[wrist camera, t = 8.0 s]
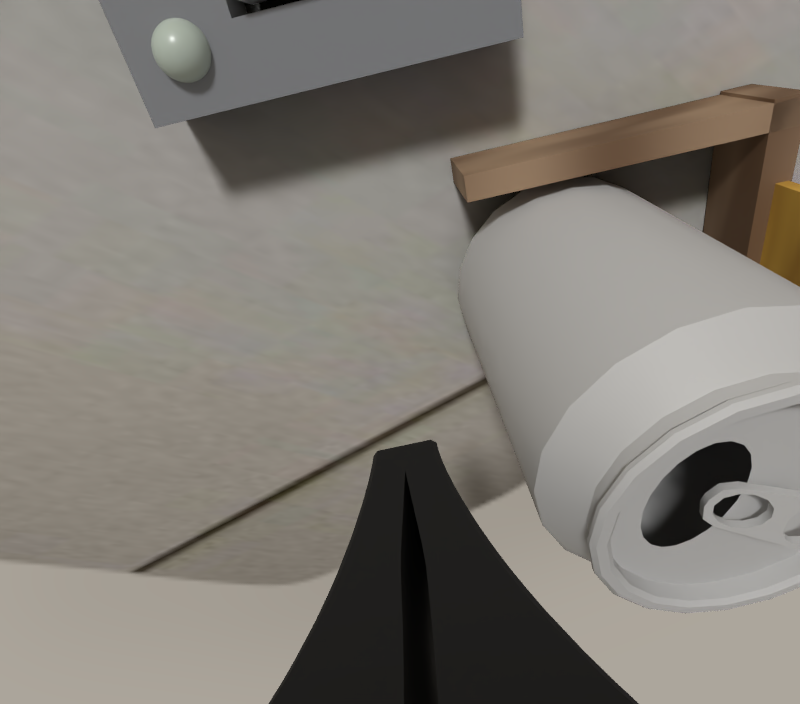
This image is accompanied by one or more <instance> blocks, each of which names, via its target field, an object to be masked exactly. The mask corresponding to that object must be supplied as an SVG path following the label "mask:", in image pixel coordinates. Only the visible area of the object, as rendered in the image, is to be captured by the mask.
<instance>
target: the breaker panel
mask: <svg viewBox="0 0 800 704" xmlns="http://www.w3.org/2000/svg"><path fill="white" fill-rule="evenodd" d="M99 2H100V4H101V6H102V9H103V11H104V13H105V15H106V18H107V20H108V22H109V25H110V27H111V29H112V31H113V34H114V36H115V38H116V40H117V43H118V45H119V47H120V49H121V52H122V54H123V56H124V59H125V61H126V63H127V65H128V68H129V70H130V72H131V74H132V77H133V79H134V81H135V83H136V86H137V88H138V90H139V93H140V95H141V97H142V99H143V102H144V104H145V106H146V108H147V111H148V113H149V115H150V117H151V120H152V122H153V124H154V127H155V128H158V127H162V126H166V125H170V124H174V123H178V122H182V121H186V120H190V119H194V118H198V117H202V116H206V115H210V114H214V113H219V112H223V111H227V110H231V109H235V108H239V107H243V106H247V105H251V104H255V103H259V102H263V101H267V100H271V99H275V98H279V97H283V96H288V95H292V94H296V93H300V92H304V91H308V90H312V89H316V88H320V87H324V86H328V85H332V84H336V83H340V82H344V81H348V80H352V79H356V78H361V77H365V76H369V75H373V74H377V73H381V72H385V71H389V70H393V69H397V68H401V67H405V66H409V65H413V64H417V63H421V62H425V61H430V60H434V59H438V58H442V57H446V56H450V55H454V54H458V53H462V52H466V51H470V50H474V49H478V48H482V47H486V46H490V45H494V44H499V43H503V42H507V41H511V40H515V39H519V38H523V23H522V7H521V0H301V1H297V2H293V3H289V4H285V5H282V6H278V7H274V8H270V9H266V10H262V11H258V12H254V13H250V14H248V13H247V10H246V7H245V4H244V2H242V1H238V0H99Z"/></svg>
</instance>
